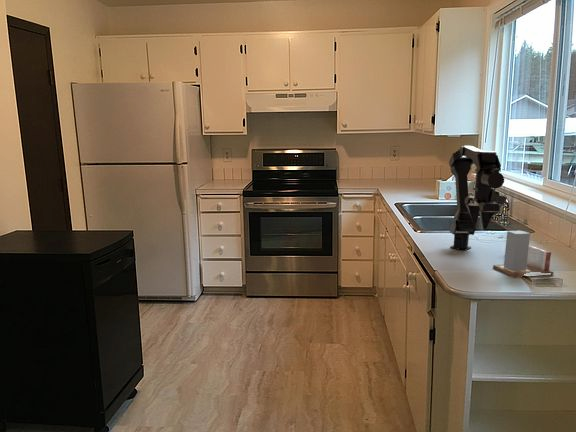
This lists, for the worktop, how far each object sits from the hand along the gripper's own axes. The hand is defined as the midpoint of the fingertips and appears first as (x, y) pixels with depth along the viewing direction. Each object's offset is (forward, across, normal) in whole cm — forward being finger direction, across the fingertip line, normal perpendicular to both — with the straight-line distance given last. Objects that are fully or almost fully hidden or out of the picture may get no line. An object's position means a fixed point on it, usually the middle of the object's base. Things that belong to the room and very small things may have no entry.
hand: (479, 226), depth 177 cm
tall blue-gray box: (+12, -16, -7) cm, 21 cm away
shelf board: (+13, -15, -10) cm, 22 cm away
